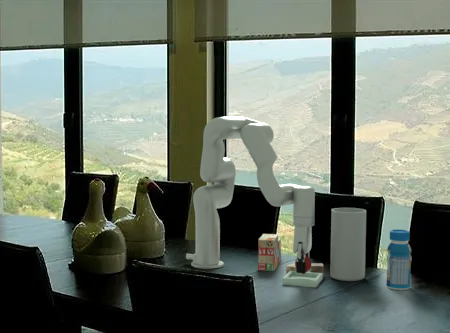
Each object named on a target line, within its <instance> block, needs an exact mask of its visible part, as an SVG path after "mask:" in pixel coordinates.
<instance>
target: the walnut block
mask: <svg viewBox="0 0 450 333" xmlns="http://www.w3.org/2000/svg"><path fill="white" fill-rule="evenodd" d="M324 267H325V266H324V264H323V263H321V262H319V263H317V262H316V263H315V262H314V263H313V262H311V268H310V270H309V272H313V273H323V274H324V271H325V270H324Z"/></svg>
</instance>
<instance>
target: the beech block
mask: <svg viewBox="0 0 450 333" xmlns="http://www.w3.org/2000/svg"><path fill="white" fill-rule="evenodd" d="M285 271H286V272H285V275H286V274H287V273H288V272H289V271H296V267H295V262H293V263H291V264H287V265H286V269H285Z"/></svg>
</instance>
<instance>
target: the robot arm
mask: <svg viewBox="0 0 450 333" xmlns="http://www.w3.org/2000/svg"><path fill="white" fill-rule="evenodd" d="M274 137H275V134H274V130H273V128H272V127H271V126H270V125H269V124H268V123H265V122H261V121H258V120H255V119H253V118H252V119H251V118H249V117H244V116H220V117H219V116H218V117H214V118H212V119H211V120H210V121H208V122H207V124H206V125H205V127H204V130H203V142H202V144H203V145H202V151H201V152H202V153H201V159H200V167H199V168H200V170H199V176H200V178H201V180H202V181H203V182H205V183H209V184H207V185H203V186H199V187H198V188H197V189H196V190H195V191H194V193H193V194H192V202H193V207H194V216H195V221H194V222H195V253H193V254H192V253H186V254H185V259H186V260H192V262H191V263H190V264H191V267H193V268H196V269H204V270H210V269H213V270H214V269H218V268H219V269H220V268H222V267H224V264H225V263H224V261H222V260H220V256H221V252H220V251H221V250H220V245H221V244H220V242H221V241H220V240H221V237H220V236H221V234H220V233H221V228H220V227H221V223H220V222H221V221H220V216H219V213H218V210H217V209H222V208H225V207H227V206H229V205H230V204H231V202H232V200H233V196H234V195H233V194H234V189H235V182H236V173H237V172H236V166H235V164H234V162H233V160H232V159H230V158H228V157H225V151H226V148H225V143H224V140H233V139H238V140H239V139H240V140H241V142H242V143H243V145H244V146H245V149H246V150H247V152H248V154H249V155H250V158H251V159H252V161H253V163H254V164H255V166H256V180H257V184H258V187H259V190H260V191H261V193H262V195H263V196H264V198H265V200H266V201H267V202H268V203H269V204H270V205H271V206H273V207H283V206H290V205H292V206H293V207H292V210H293V211H292V212H293V213H292V225H293V226H294V230H293V247H292V253H293V254H296V259H297V263H296V272H297V273H305V272H306V262H305V255H307V256H308V257H309V258H310V251H311V249H312V244H313V243H312V241H313V240H312V239H313V237H312V235H313V234H312V230H313V229H312V227H313V226H315V210H316V209H315V202H316V201H315V200H316V199H315V197H316V196H315V195H316V190H315V188H314V187H313V186H310V185H309V186H308V185H298V184H294V183H286V184H279V183H278V180H277V179H276V177H275V174H274V170H273V167H274V164H275V163H276V161H277V158H278V154H277V153H276V151H275V149H274V148H273V146H272V145H271V143H272V142H273V140H274ZM212 183H213V184H212ZM303 252H304V253H303ZM301 255H303V256H301Z"/></svg>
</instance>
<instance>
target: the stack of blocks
mask: <svg viewBox="0 0 450 333" xmlns="http://www.w3.org/2000/svg"><path fill="white" fill-rule="evenodd" d="M281 239H282V238H281V237H279V234H275V233H262V235H261V236H260V237H259V238H258V239H257V240H258V246H257V247H258V248H257V253H258V254H257V257H258V259H257V260H258V261H257V271H263V272H265V271H266V272H268V271H269V272H274V271H275V270H276V269H277V267H278V264H279V263H280V262H281V259H282V258H281V257H282V245H281V244H282V243H281V242H282V241H281Z"/></svg>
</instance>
